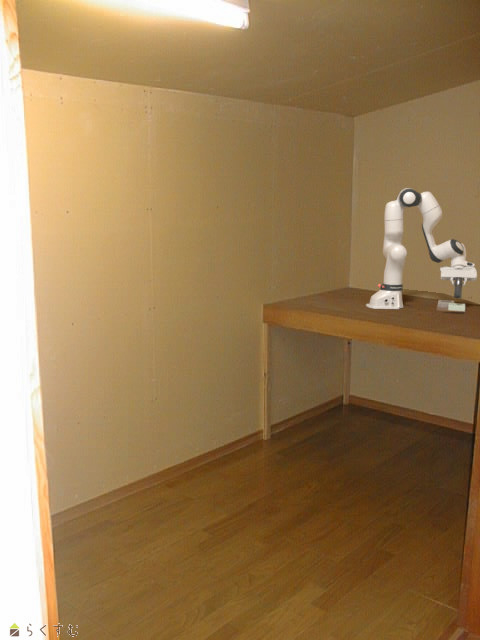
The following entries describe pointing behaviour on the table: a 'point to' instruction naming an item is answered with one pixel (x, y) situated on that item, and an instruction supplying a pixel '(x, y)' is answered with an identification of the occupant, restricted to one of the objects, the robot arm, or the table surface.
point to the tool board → (450, 310)
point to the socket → (444, 303)
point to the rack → (456, 307)
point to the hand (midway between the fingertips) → (458, 285)
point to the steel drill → (458, 287)
